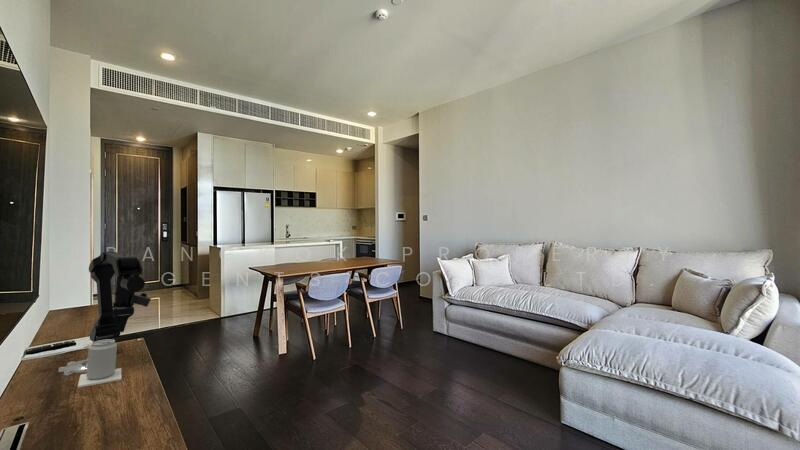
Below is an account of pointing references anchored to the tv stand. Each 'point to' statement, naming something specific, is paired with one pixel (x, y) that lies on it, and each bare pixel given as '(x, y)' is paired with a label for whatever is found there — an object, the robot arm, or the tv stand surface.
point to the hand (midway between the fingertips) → (121, 329)
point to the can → (101, 359)
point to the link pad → (87, 381)
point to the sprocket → (75, 367)
